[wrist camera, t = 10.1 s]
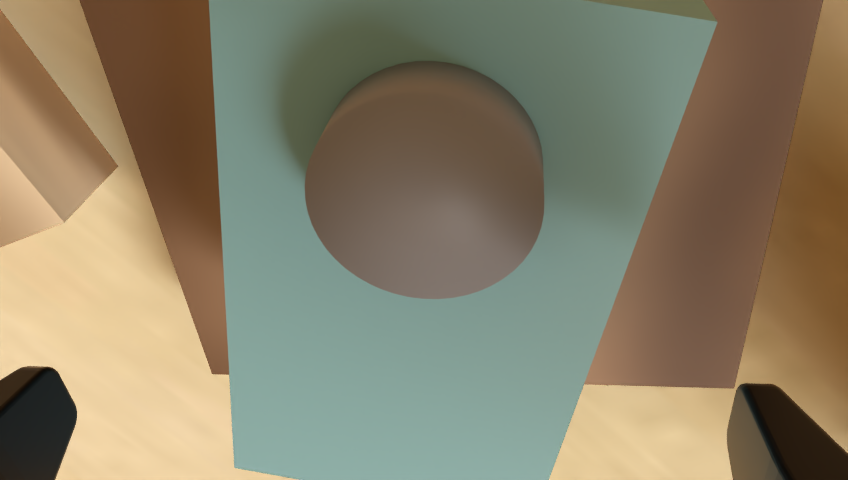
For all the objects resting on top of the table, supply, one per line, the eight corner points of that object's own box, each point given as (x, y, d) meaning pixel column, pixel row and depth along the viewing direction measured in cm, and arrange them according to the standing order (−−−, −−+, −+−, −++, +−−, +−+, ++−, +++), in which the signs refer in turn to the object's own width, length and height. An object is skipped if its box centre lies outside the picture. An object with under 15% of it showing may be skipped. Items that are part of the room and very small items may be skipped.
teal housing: (532, 345, 18) (533, 570, 13) (300, 305, 18) (216, 512, 13) (654, -72, 12) (738, 53, 7) (311, -127, 12) (170, -39, 7)
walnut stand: (831, -296, 12) (892, -302, 10) (713, 322, 20) (734, 388, 18) (79, -217, 14) (5, -210, 12) (241, 315, 22) (212, 374, 20)
